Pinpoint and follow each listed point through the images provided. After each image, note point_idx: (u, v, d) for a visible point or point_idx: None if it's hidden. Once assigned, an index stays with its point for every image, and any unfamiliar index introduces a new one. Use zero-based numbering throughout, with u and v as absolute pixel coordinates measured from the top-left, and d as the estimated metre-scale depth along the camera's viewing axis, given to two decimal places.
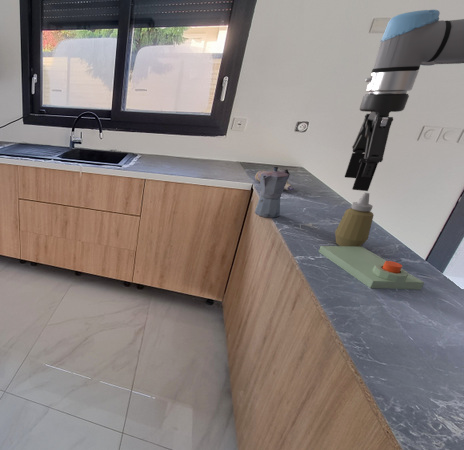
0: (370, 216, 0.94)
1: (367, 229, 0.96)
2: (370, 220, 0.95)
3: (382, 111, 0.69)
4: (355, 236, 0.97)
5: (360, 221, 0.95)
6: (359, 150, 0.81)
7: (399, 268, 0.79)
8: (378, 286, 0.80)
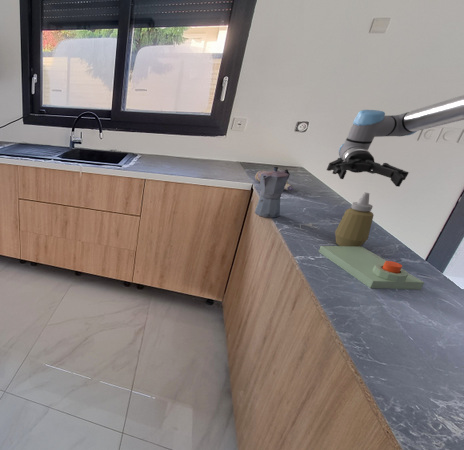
0: (370, 216, 0.94)
1: (367, 229, 0.96)
2: (370, 220, 0.95)
3: None
4: (355, 236, 0.97)
5: (360, 221, 0.95)
6: None
7: (399, 268, 0.79)
8: (378, 286, 0.80)
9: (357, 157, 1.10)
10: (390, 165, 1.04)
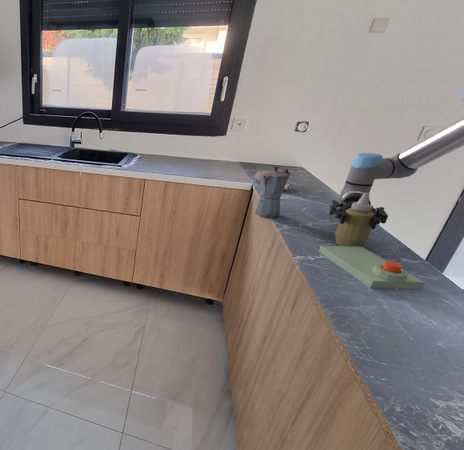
0: (370, 216, 0.94)
1: (367, 229, 0.96)
2: (370, 220, 0.95)
3: None
4: (355, 236, 0.97)
5: (360, 221, 0.95)
6: None
7: (399, 268, 0.79)
8: (378, 286, 0.80)
9: (352, 199, 1.08)
10: (382, 209, 1.00)
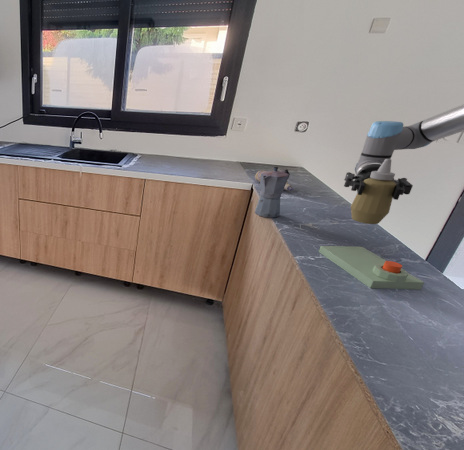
0: (392, 185, 0.83)
1: (388, 200, 0.84)
2: (392, 190, 0.84)
3: None
4: (375, 209, 0.85)
5: (380, 191, 0.84)
6: None
7: (399, 268, 0.79)
8: (378, 286, 0.80)
9: (370, 171, 0.97)
10: (405, 180, 0.89)
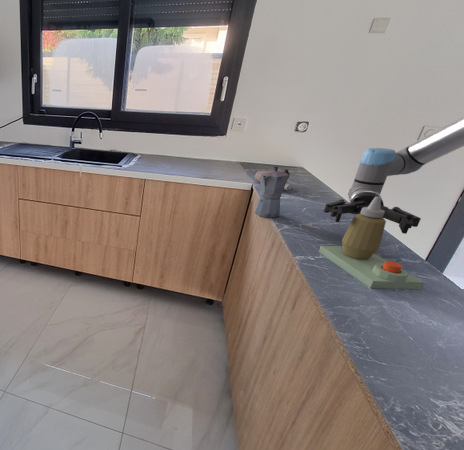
0: (382, 223, 0.84)
1: (378, 237, 0.85)
2: (382, 227, 0.85)
3: None
4: (365, 245, 0.86)
5: (371, 228, 0.85)
6: None
7: (399, 268, 0.79)
8: (378, 286, 0.80)
9: (363, 199, 0.97)
10: None
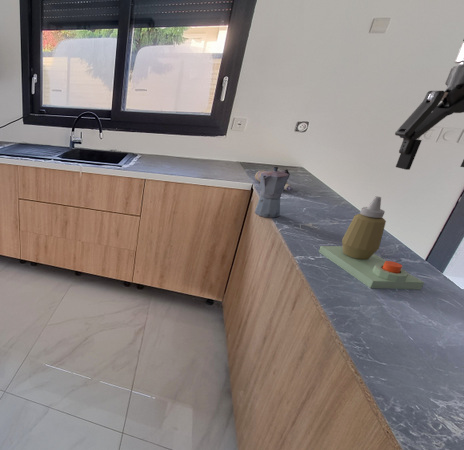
0: (382, 223, 0.84)
1: (378, 237, 0.85)
2: (382, 227, 0.85)
3: (450, 85, 0.65)
4: (365, 245, 0.86)
5: (370, 228, 0.85)
6: None
7: (399, 268, 0.79)
8: (378, 286, 0.80)
9: None
10: None
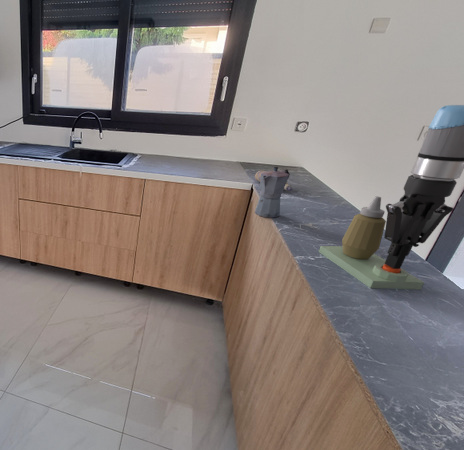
0: (382, 223, 0.84)
1: (378, 237, 0.85)
2: (382, 227, 0.85)
3: (406, 192, 0.73)
4: (365, 245, 0.86)
5: (370, 228, 0.85)
6: (407, 239, 0.77)
7: (398, 271, 0.79)
8: (378, 286, 0.80)
9: None
10: (443, 217, 0.73)
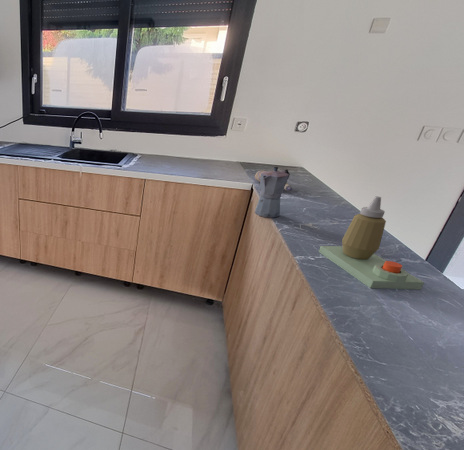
0: (382, 223, 0.84)
1: (378, 237, 0.85)
2: (382, 227, 0.85)
3: None
4: (365, 245, 0.86)
5: (370, 228, 0.85)
6: None
7: (399, 268, 0.79)
8: (378, 286, 0.80)
9: None
10: None
